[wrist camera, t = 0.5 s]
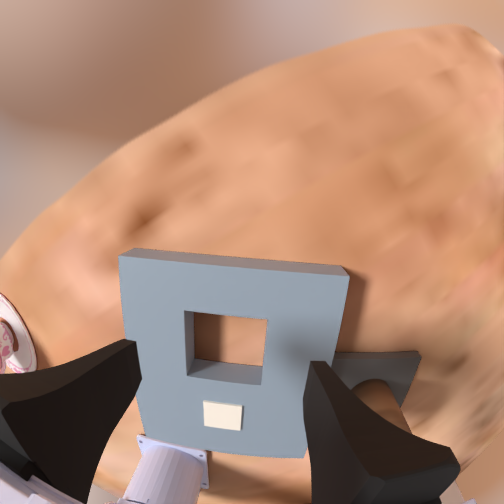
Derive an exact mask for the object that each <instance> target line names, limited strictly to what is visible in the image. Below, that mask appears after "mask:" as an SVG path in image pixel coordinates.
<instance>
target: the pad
mask: <svg viewBox="0 0 504 504" xmlns="http://www.w3.org/2000/svg"><path fill="white" fill-rule="evenodd" d="M420 360H421V355H420V354H419V353H418V351H407V352H368V353H353V352H335V353H334V357H333V361H332V365H331V368H332V369H333V371H334V372H335V373H336V374H337V375H338V377H339V378H340V379H341V380H342V381H343V382H344V384H345V385H346V386H347V387H348V388H349V389H350V390H351V389H352V388H353V387H354V386H356V385H357V384H359V383H361V382H363V381H365V380H368V379H381V380H384V381H385V382H386V383H387V384H388V385H389V387H390V389H391V391H392V393H393V395H394V397H395V399H396V401H397V403H398V405H399V407H401V405H402V403H403V401H404V399H405V397H406V394H407V392H408V390H409V387H410V385H411V383H412V380H413V378H414V375H415V373H416V370H417V368H418V365H419V363H420Z"/></svg>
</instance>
